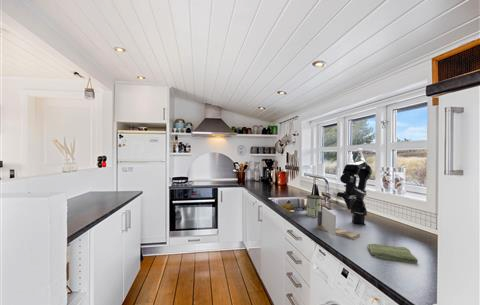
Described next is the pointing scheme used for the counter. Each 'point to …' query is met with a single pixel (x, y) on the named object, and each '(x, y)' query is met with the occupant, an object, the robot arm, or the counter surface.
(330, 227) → the door
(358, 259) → the counter surface
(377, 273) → the counter surface
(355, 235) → the door base
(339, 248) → the counter surface
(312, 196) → the glass jar
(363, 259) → the counter surface
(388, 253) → the washcloth
